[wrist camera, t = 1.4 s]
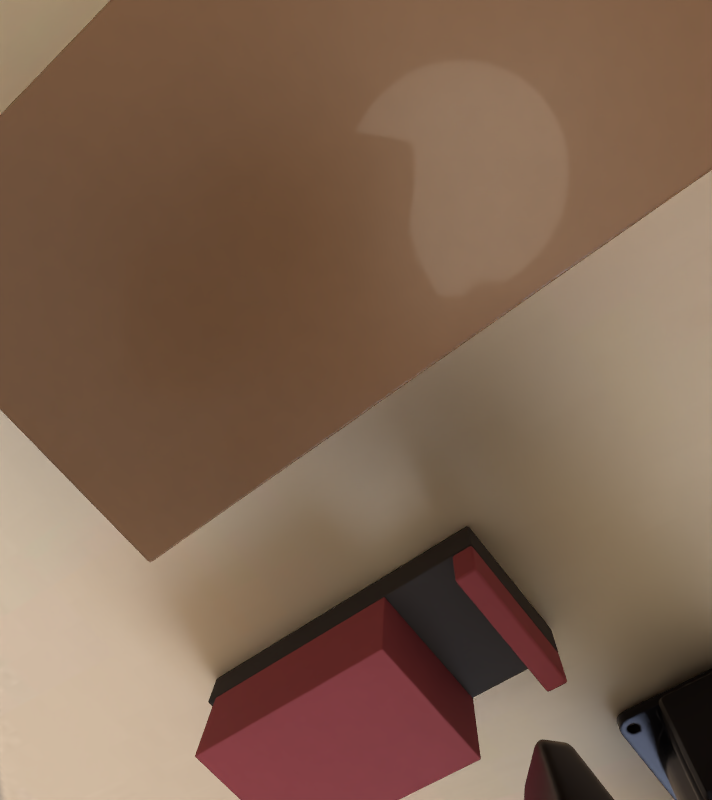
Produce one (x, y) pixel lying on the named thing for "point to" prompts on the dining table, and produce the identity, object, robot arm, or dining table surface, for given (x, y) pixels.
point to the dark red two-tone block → (379, 684)
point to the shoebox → (307, 216)
